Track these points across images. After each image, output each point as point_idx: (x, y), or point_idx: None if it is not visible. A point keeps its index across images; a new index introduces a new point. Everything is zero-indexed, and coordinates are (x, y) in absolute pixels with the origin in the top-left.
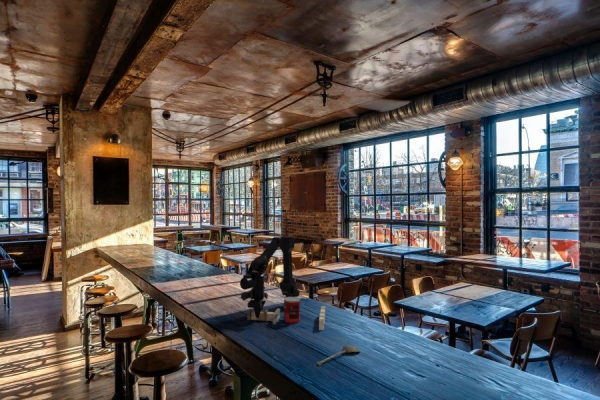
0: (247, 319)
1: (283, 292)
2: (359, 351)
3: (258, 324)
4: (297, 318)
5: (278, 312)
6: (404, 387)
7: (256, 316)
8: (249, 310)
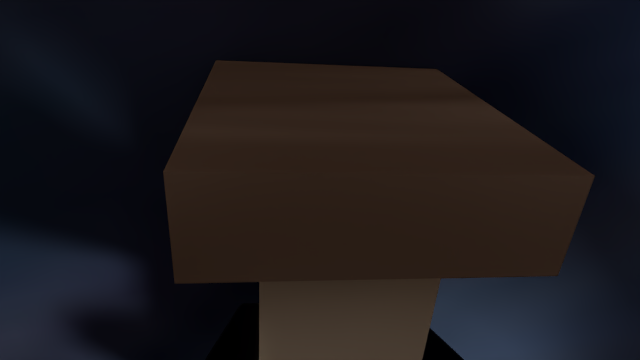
0: (211, 70)
1: None
2: None
3: (5, 352)
4: None
5: None
6: None
7: (224, 340)
8: (281, 245)
